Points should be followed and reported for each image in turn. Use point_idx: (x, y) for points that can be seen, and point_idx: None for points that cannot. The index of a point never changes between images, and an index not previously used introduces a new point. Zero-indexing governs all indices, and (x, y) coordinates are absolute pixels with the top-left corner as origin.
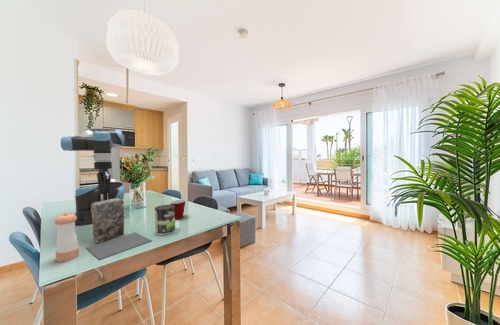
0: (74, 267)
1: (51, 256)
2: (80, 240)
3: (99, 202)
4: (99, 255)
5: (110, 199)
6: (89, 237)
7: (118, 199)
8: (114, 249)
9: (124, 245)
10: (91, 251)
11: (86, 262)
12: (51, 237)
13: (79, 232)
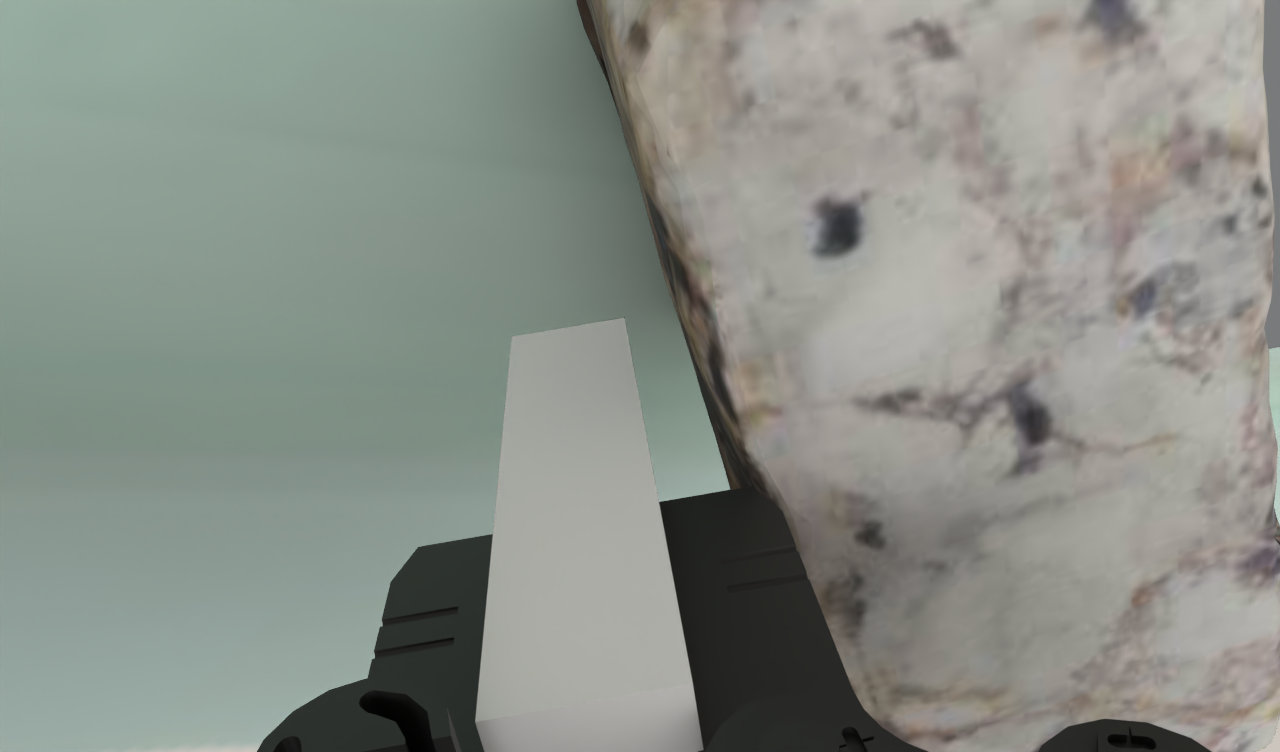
0: (1277, 508)
1: None
2: (476, 453)
3: (1064, 728)
4: (1270, 318)
5: (833, 365)
6: (425, 354)
7: (1126, 12)
8: (1272, 150)
9: (1274, 4)
10: None
11: (1276, 425)
12: (59, 715)
13: (31, 455)
